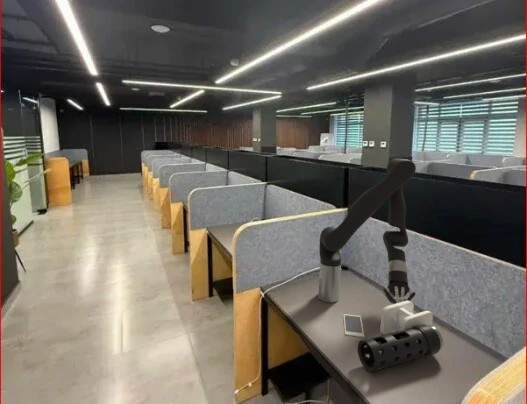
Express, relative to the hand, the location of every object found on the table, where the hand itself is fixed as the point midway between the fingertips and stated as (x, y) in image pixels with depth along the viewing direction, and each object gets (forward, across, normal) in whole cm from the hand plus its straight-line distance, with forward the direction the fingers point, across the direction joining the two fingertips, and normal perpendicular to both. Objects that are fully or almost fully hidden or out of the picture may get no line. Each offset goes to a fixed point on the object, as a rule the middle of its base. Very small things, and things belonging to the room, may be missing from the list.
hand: (400, 314), depth 122 cm
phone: (+7, -18, 0) cm, 19 cm away
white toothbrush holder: (+9, 0, -2) cm, 9 cm away
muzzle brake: (+19, -4, -12) cm, 23 cm away
